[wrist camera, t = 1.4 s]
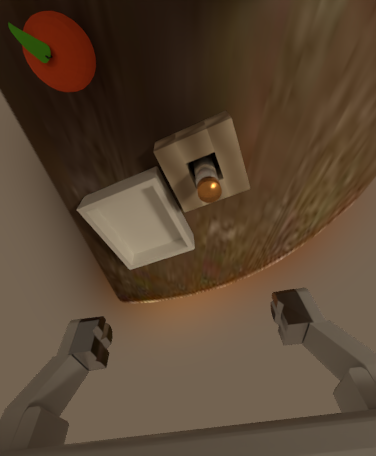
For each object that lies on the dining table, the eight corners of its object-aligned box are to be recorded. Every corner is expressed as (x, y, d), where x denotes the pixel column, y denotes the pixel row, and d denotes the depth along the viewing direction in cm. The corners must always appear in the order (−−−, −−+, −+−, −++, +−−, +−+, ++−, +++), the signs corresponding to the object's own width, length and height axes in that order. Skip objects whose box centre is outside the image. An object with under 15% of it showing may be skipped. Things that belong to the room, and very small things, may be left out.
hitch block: (226, 110, 32) (231, 117, 29) (244, 176, 38) (250, 188, 35) (155, 141, 34) (153, 151, 31) (183, 199, 41) (184, 212, 38)
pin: (208, 147, 35) (217, 178, 27) (214, 164, 37) (224, 198, 29) (190, 155, 36) (194, 187, 28) (196, 171, 38) (202, 205, 30)
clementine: (24, 56, 27) (-14, 60, 22) (38, -13, 24) (-3, -29, 18) (90, 99, 30) (71, 112, 25) (112, 44, 27) (95, 45, 21)
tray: (156, 165, 37) (155, 177, 33) (193, 235, 46) (194, 248, 43) (84, 196, 39) (76, 209, 36) (132, 255, 49) (129, 269, 46)
